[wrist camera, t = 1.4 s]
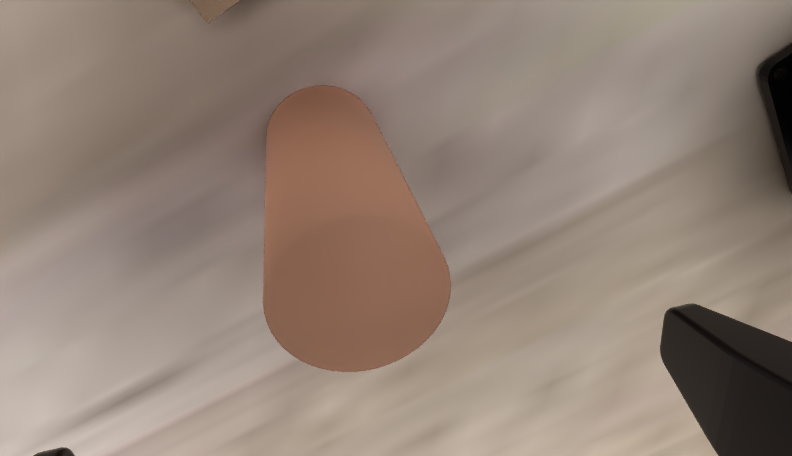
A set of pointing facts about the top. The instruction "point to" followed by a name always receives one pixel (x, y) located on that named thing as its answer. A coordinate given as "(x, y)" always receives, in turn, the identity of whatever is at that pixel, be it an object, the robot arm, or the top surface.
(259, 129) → the top surface
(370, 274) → the peg
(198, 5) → the socket block
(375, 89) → the top surface
